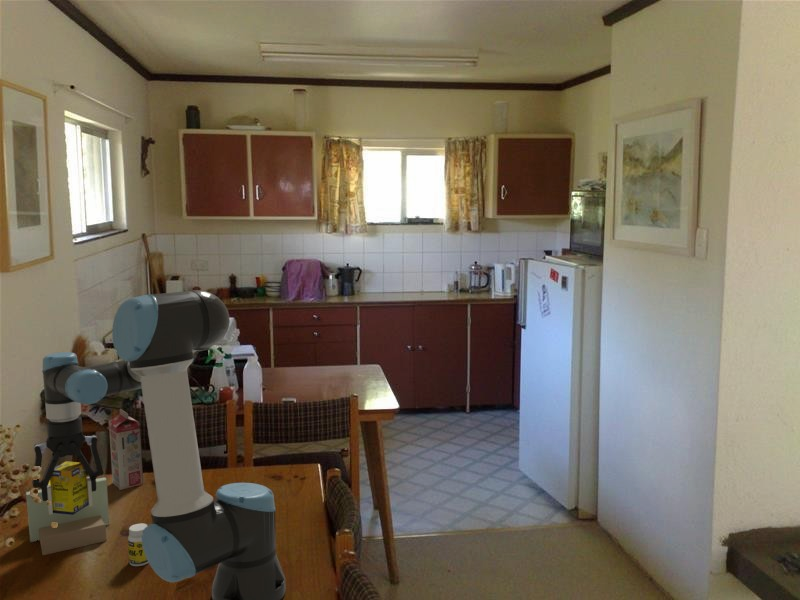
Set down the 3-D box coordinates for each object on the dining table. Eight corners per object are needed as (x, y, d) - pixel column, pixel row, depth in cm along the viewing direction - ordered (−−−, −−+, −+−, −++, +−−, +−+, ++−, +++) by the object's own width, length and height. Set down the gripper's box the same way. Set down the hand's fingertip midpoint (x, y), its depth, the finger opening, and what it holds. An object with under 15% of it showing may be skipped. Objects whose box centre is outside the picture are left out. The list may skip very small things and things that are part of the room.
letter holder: (115, 538, 172) (112, 492, 171) (33, 557, 163) (29, 508, 162) (108, 521, 182) (105, 477, 180) (29, 538, 173) (26, 492, 171)
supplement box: (73, 515, 167) (70, 471, 166) (51, 513, 168) (48, 469, 167) (89, 505, 173) (86, 462, 171) (68, 503, 174) (64, 460, 173)
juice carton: (135, 477, 211) (131, 406, 209) (143, 484, 206) (139, 411, 203) (112, 483, 207) (108, 410, 204) (120, 489, 202) (115, 415, 199)
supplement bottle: (125, 566, 159) (122, 531, 158) (135, 556, 164) (133, 521, 163) (144, 567, 159) (142, 532, 157) (155, 557, 163) (153, 523, 162)
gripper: (108, 407, 176) (114, 493, 179) (13, 420, 165) (21, 512, 168) (113, 414, 170) (119, 504, 173) (15, 429, 159) (22, 524, 162)
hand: (70, 508), depth 170 cm, fingers closed on supplement box, 8 cm apart
